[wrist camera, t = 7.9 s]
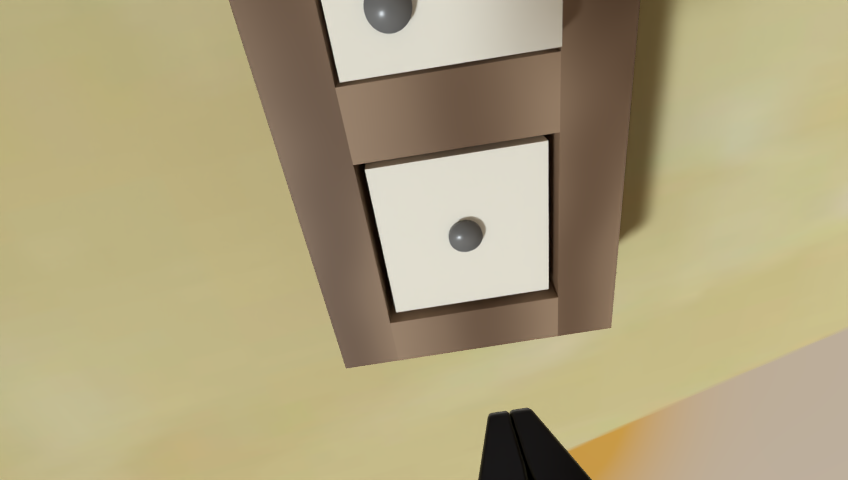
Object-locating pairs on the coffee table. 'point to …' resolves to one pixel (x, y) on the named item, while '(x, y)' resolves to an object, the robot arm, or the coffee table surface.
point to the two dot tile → (435, 32)
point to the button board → (438, 131)
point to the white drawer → (463, 222)
